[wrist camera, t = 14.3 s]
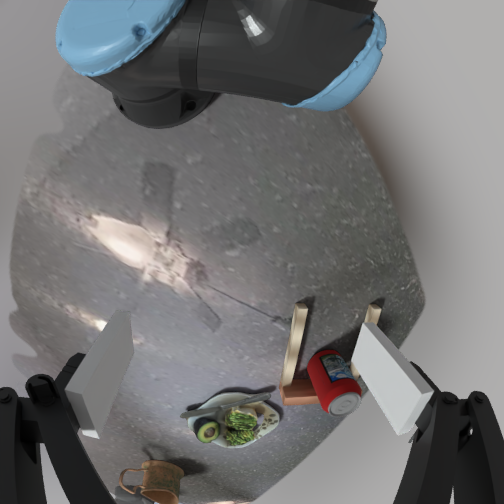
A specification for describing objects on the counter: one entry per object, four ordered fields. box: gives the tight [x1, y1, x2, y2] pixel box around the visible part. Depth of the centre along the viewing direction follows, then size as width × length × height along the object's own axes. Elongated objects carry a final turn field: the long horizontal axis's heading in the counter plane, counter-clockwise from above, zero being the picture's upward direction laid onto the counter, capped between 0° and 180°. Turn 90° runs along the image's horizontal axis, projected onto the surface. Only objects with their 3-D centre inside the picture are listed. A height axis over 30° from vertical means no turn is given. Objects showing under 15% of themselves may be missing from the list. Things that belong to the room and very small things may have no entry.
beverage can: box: [307, 350, 361, 417], centre depth 42 cm, size 7×7×12 cm
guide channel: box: [279, 303, 381, 405], centre depth 45 cm, size 18×15×5 cm
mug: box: [119, 460, 184, 504], centre depth 49 cm, size 12×18×12 cm, turn 39°
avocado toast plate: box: [180, 392, 280, 448], centre depth 48 cm, size 19×18×5 cm
